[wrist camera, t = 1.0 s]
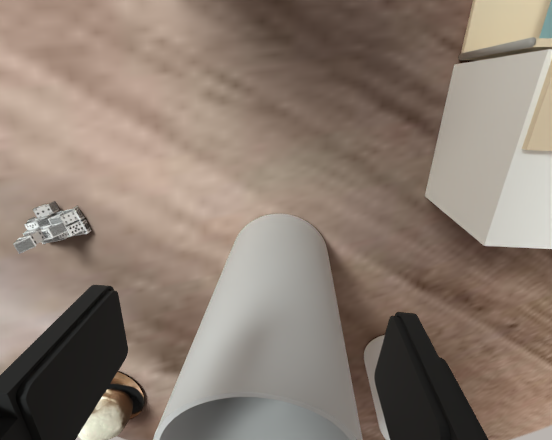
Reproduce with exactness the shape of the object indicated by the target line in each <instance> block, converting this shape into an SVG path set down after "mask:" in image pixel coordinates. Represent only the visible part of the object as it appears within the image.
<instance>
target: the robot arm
mask: <svg viewBox="0 0 552 440" xmlns="http://www.w3.org/2000/svg"><path fill="white" fill-rule="evenodd" d="M127 353H128V346H127V340H126V335H125V329H124V324H123V318H122V313H121V307H120V302H119V296H118V293H117V291H114V289H113V288H112V287H111V286H103V285H92V286H91V287H90V288H89V289H88V290H87V291H86V292H85V293H84V294H83V295H82V296H80V297H79V298H78V299H77V300H76V301H75V302H74V303H73V304H72V305H71V306H70V307H69V308H68V309H67V310H66V311H65V312H64V313H63V314H62V315H61V316H60V317H59V318H58V319H57V320H56V321H55V322H54V323H53V324H52V325H51V326H50V327H49V328H48V329H47V330H46V331H45V332H44V333H43V334H42V335H41V336H40V337H39V338H38V339H37V340H36V341H35V342H34V343H33V344H32V345H31V346H30V347H29V348H28V349H27V350H26V351H25V352H24V353H23V354H21V355H20V356H19V357H18V358H17V359H16V360H15V361H14V362H13V363H12V364H11V365H10V366H9V367H8V368H7V369H6V370H5V371H4V372H3V373H2V374H1V375H0V440H75V439H76V438H77V436H78V434H79V433H80V431H81V430H82V428H83V426H84V425H85V423H86V422H87V420H88V418H89V417H90V415H91V414H92V412H93V410H94V409H95V407H96V405H97V404H98V402H99V401H100V399H101V397H102V396H103V394H104V393H105V391H106V389H107V388H108V386H109V385H110V383H111V381H112V380H113V378H114V377H115V375H116V373H117V372H118V370H119V368H120V367H121V365H122V364H123V362H124V360H125V359H126V356H127ZM374 379H375V385H376V389H377V393H378V396H379V400H380V404H381V408H382V411H383V415H384V419H385V423H386V427H387V430H388V434H389V438H390V440H488V438H487V436H486V434H485V432H484V431H483V429H482V427H481V425H480V423H479V421H478V420H477V418H476V416H475V414H474V412H473V410H472V408H471V407H470V405H469V403H468V401H467V399H466V397H465V396H464V394H463V392H462V390H461V388H460V386H459V384H458V383H457V381H456V379H455V377H454V375H453V373H452V372H451V370H450V368H449V366H448V364H447V363H446V361H445V360H444V359H442V358H439V356H438V355H437V353H436V351H435V349H434V347H433V345H432V343H431V341H430V339H429V337H428V336H427V334H426V332H425V330H424V328H423V326H422V324H421V322H420V320H419V318H418V317H417V315H416V314H413V313H402V312H397V313H396V314H395V316H391V317H390V319H389V322H388V326H387V329H386V333H385V337H384V340H383V344H382V348H381V351H380V355H379V358H378V362H377V366H376V369H375V375H374Z"/></svg>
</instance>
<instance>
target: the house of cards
mask: <svg viewBox="0 0 552 440" xmlns="http://www.w3.org/2000/svg"><path fill="white" fill-rule="evenodd" d="M58 210H60V209H59V207H58V206H57V204H56V202H55V201H54V202H51V203H49V204H43V205H41V206H39V207H35V208H34V209H33V211H34V213H35V215H36V216H37V218H35V217H33V218H31V219H28V222H27V223H26V224H24V225H25V227H26V228H27V231H26V232H25V233H23V235H24V236H23V237H21V238H19V239H17V240H16V241H15V242H14V243H13V245H14V246H15V248H16V249H17V251H18V253H19V254H20V253H22V252H24V251H27V250H29V249H31V248H33V247H35V246H36V245H37V244H38V243H40V242H42V243H43V244H46V243H49V242H56V241H60V240H65V239H66V238H68V237H71V236H77V235H83V234H88V233H89V232H91V229H90V227H89V225H88V223H87V221H86V219H84V218H85V217H83V215H82V213H81V211H80V209H79V207H78V205H77V206H76V207H74V208H73V209H70V210H66V211H60V212H57V211H58ZM50 214H51V215H50ZM48 215H49V216H48ZM45 216H46V217H45ZM82 219H84V220H82ZM53 240H54V241H53Z"/></svg>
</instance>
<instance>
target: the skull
mask: <svg viewBox="0 0 552 440" xmlns="http://www.w3.org/2000/svg"><path fill="white" fill-rule="evenodd" d="M143 407H144V395H143V393H142V391H141V389H140V387H139V386H138V385H137V384H136V383H135V382H134V381H133V380H132V379H130V378H129V377H128V376H126V375H124V374H122V373H119V372H117V373H116V375H115V377H114V378H113V380H112V381H111V383H110V385H109V386H108V388H107V389H106V391H105V393H104V394H103V396H102V397H101V399H100V401H99V402H98V404H97V405H96V407H95V409H94V410H93V412H92V414H91V415H90V417H89V418H88V420H87V422H86V423H85V425H84V426H83V428H82V430H81V431H80V433H79V434H78V437H79V438H80V439H81V440H108V439H111V438H113V437H116V436H117V435H119V434H120V433H121V431H122V430H123V429H124V427H125V426H126V424H127V422H128V421H129V419H132V418H134V417H136V416H137V415H138V414H139V413H140V412H141V411H142V409H143Z"/></svg>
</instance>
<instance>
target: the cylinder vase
mask: <svg viewBox="0 0 552 440" xmlns="http://www.w3.org/2000/svg"><path fill="white" fill-rule="evenodd" d="M153 440H363V439H362V434H361V429H360V423H359V418H358V412H357V407H356V402H355V396H354V391H353V386H352V380H351V375H350V369H349V364H348V359H347V353H346V348H345V342H344V337H343V332H342V326H341V321H340V315H339V310H338V305H337V299H336V294H335V289H334V283H333V278H332V272H331V267H330V262H329V256H328V251H327V247H326V244H325V241H324V239H323V237H322V236H321V234H320V233H319V232H318V231H317V229H316V228H315V227H313V226H312V225H311V224H310V223H308V222H307V221H305V220H303V219H301V218H299V217H296V216H293V215H289V214H269V215H265V216H262V217H259V218H257V219H255V220H253V221H251V222H250V223H249V224H247V225H246V226H245V227H244V228H243V229H242V230H241V231H240V233H239V234H238V236H237V238H236V240H235V242H234V245H233V247H232V250H231V252H230V254H229V257H228V259H227V262H226V264H225V266H224V269H223V271H222V274H221V276H220V278H219V281H218V283H217V286H216V288H215V291H214V293H213V295H212V298H211V300H210V303H209V305H208V307H207V310H206V312H205V315H204V317H203V319H202V322H201V324H200V327H199V329H198V332H197V334H196V336H195V339H194V341H193V344H192V346H191V348H190V351H189V353H188V356H187V358H186V360H185V363H184V365H183V368H182V370H181V373H180V375H179V377H178V380H177V382H176V385H175V387H174V389H173V392H172V394H171V397H170V399H169V401H168V404H167V406H166V409H165V411H164V414H163V416H162V418H161V421H160V423H159V426H158V428H157V430H156V433H155V435H154V438H153Z"/></svg>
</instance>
